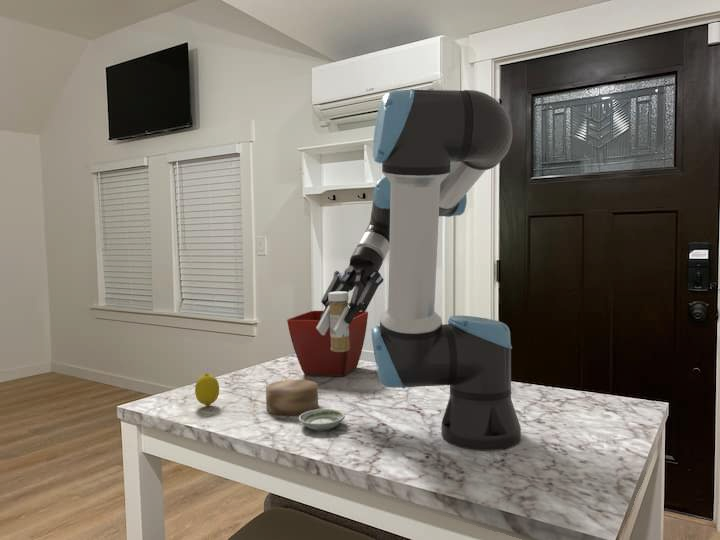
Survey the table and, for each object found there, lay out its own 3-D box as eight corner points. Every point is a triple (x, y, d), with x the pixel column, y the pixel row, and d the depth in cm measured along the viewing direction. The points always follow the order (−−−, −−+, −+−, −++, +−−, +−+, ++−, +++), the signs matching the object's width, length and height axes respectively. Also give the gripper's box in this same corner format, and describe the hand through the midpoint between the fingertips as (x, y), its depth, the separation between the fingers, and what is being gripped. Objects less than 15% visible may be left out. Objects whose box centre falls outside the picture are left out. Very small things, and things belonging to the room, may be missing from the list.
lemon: (213, 410, 123) (211, 376, 123) (191, 409, 124) (189, 376, 124) (223, 403, 129) (222, 370, 128) (202, 402, 130) (201, 370, 129)
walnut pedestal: (328, 404, 126) (328, 383, 126) (294, 419, 116) (293, 396, 116) (290, 397, 133) (290, 377, 132) (255, 410, 123) (254, 388, 123)
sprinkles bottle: (353, 350, 121) (351, 292, 120) (335, 353, 119) (333, 293, 118) (344, 347, 125) (342, 290, 124) (326, 349, 123) (324, 292, 122)
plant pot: (287, 377, 153) (285, 318, 152) (313, 362, 171) (312, 310, 170) (350, 381, 147) (348, 320, 146) (370, 365, 165) (369, 311, 164)
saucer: (333, 416, 118) (333, 405, 118) (352, 430, 109) (352, 418, 109) (292, 424, 114) (292, 412, 114) (308, 438, 105) (308, 426, 105)
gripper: (405, 265, 128) (367, 346, 116) (348, 264, 138) (308, 338, 126) (393, 244, 123) (352, 326, 111) (334, 244, 133) (291, 319, 121)
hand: (328, 332), depth 118 cm, fingers closed on sprinkles bottle, 4 cm apart
